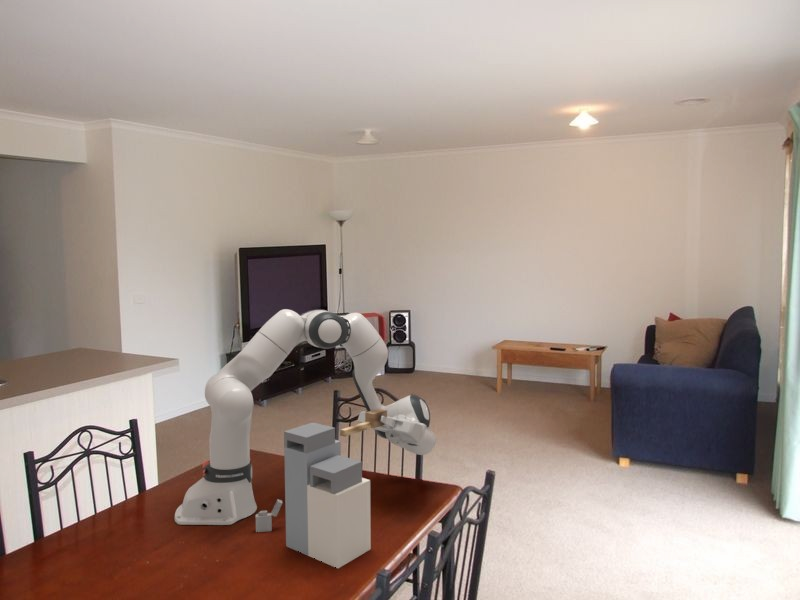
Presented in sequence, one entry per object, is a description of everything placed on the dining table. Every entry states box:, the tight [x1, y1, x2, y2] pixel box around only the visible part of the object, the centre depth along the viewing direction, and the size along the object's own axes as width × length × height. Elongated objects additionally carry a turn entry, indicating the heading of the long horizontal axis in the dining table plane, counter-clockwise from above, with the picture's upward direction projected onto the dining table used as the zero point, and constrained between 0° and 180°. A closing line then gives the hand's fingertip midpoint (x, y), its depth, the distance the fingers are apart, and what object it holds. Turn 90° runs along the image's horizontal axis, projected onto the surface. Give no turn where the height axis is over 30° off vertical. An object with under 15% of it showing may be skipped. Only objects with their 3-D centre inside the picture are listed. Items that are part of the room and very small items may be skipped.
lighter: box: [255, 498, 283, 534], centre depth 172 cm, size 7×2×8 cm, turn 105°
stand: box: [283, 422, 372, 569], centre depth 161 cm, size 12×18×30 cm, turn 52°
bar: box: [339, 409, 387, 437], centre depth 177 cm, size 17×3×4 cm, turn 142°
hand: (374, 416), depth 180 cm, fingers closed on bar, 3 cm apart
